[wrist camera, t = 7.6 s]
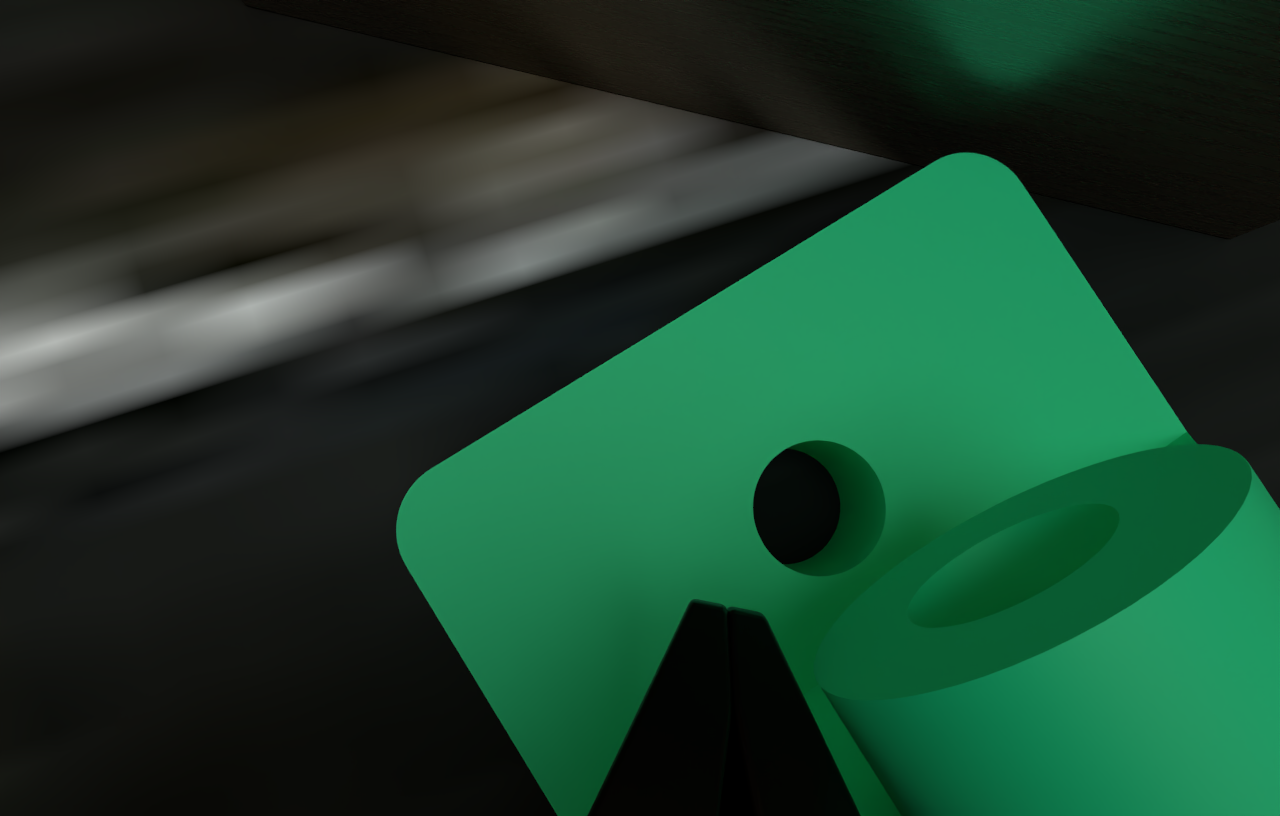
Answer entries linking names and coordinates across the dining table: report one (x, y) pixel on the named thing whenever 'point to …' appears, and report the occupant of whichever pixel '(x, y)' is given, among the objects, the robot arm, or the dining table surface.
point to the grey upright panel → (925, 81)
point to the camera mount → (886, 530)
